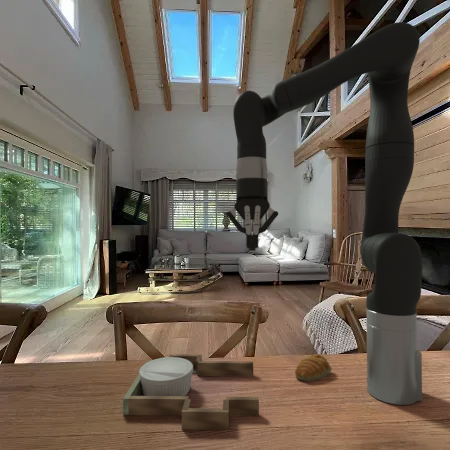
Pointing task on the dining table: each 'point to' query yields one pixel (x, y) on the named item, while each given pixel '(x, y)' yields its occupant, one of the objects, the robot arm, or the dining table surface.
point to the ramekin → (166, 377)
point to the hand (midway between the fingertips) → (252, 250)
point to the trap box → (182, 404)
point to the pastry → (313, 368)
